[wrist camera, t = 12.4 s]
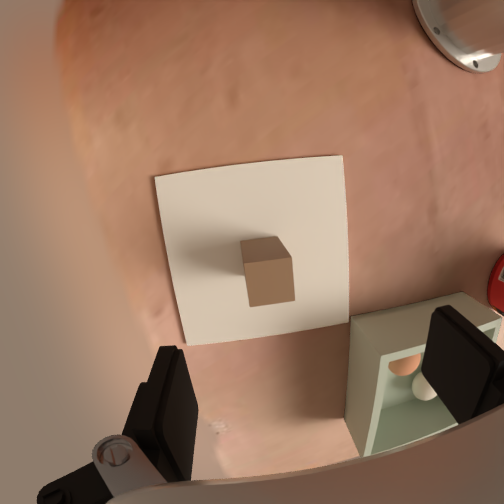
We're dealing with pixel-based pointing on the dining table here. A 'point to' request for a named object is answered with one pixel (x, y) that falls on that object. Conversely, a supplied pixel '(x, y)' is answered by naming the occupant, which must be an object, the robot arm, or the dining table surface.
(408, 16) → the dining table surface
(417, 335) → the box
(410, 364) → the ball terracotta
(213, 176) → the lid
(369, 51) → the dining table surface
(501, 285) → the canned food
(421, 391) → the ball cream
